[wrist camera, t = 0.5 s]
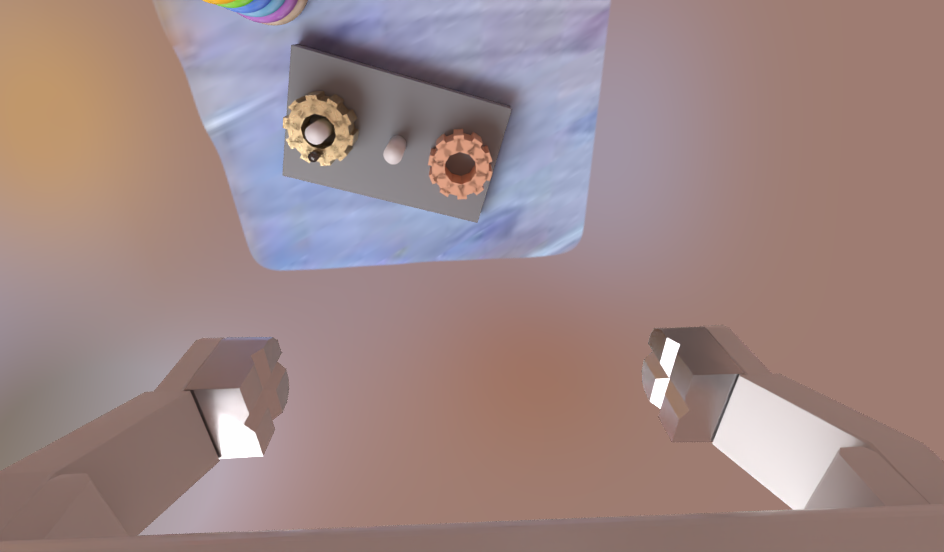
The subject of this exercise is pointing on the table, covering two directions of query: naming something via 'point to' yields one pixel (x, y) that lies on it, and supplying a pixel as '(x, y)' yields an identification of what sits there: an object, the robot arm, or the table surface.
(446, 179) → the loose gear
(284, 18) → the stacking toy
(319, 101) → the gear
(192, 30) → the table surface
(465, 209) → the gear board
